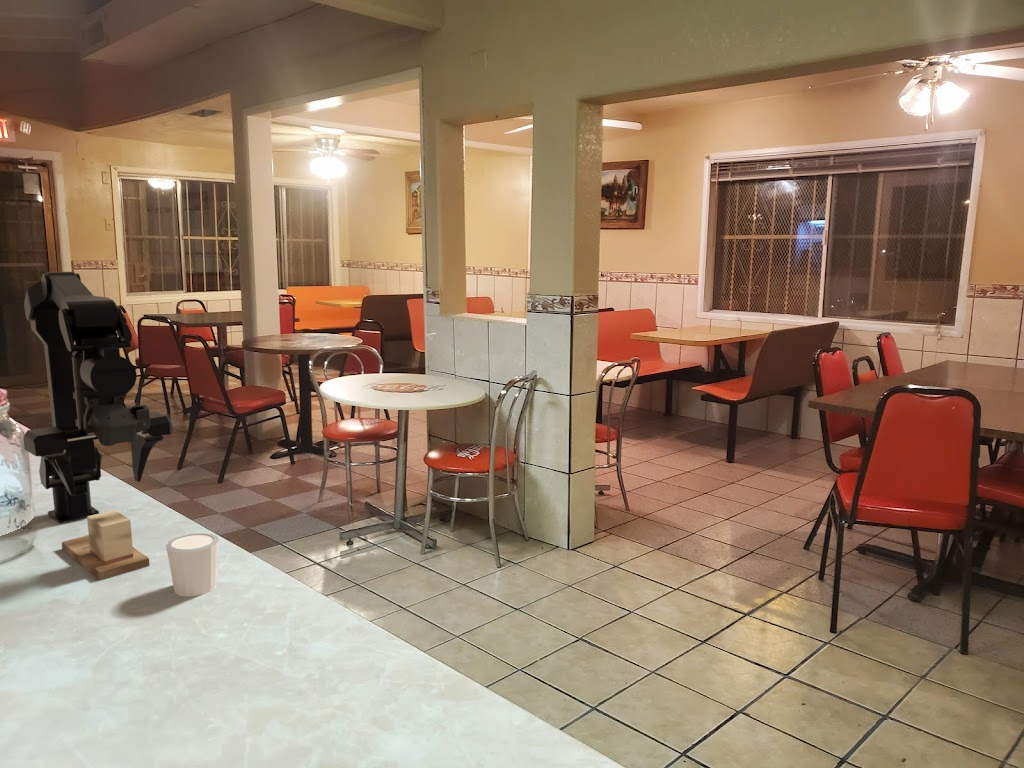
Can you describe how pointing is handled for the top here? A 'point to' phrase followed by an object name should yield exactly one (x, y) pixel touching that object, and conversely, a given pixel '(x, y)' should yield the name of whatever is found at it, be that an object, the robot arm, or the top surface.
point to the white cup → (193, 563)
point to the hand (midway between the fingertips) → (105, 487)
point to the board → (81, 553)
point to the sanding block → (110, 537)
